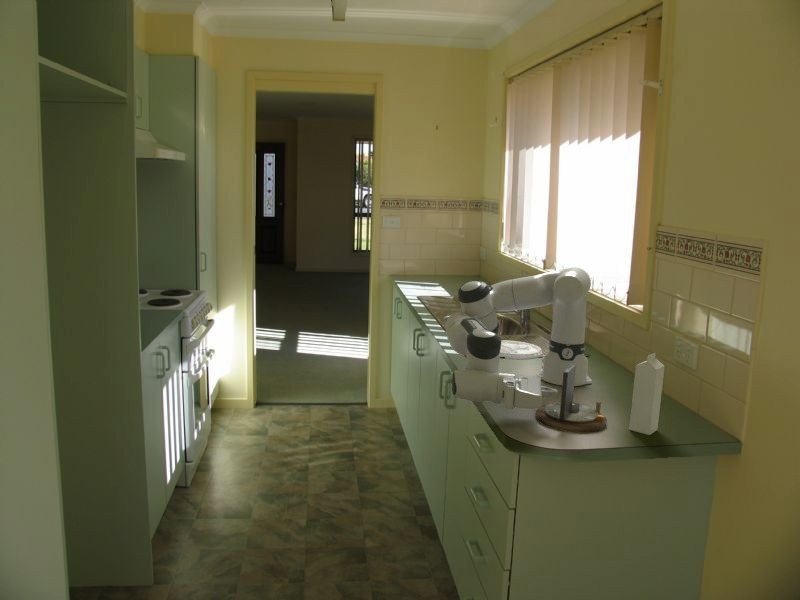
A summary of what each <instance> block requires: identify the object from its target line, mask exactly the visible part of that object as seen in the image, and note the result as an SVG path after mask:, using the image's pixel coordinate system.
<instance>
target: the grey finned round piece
mask: <svg viewBox="0 0 800 600" xmlns="http://www.w3.org/2000/svg"><path fill="white" fill-rule="evenodd" d="M575 373H576V365H571V366H570V367H569V368H567V369H566V370H565V371H564V374H563V385H561V386H562V387H561V397H560V402H559V401H557V402H550V403H548V404H546V406H545V405H544V406H545V413H546V414H547V415H548V416H549V417H551V418H554V419H557V420H559V421H564V422H570V423H590V422H594V421H596V420H598V421H603V420H604V416H605V415H604V414H603V415H604V416H603V415H598V412H597V411H596V408H593V407H591V406H588V405H585V404H581V403H579V402H577V401H574V392H575V386H574V384H575Z"/></svg>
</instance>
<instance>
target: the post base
mask: <svg viewBox="0 0 800 600" xmlns="http://www.w3.org/2000/svg"><path fill="white" fill-rule="evenodd" d="M601 404H602V402H601V401H596V405H595V410H596V411H597V412H598V415H603V416H604V420H603V421H598V420H596V421H594V422H590V423H570V422H564V421H559V420H557V419H554V418H551V417H549V416H548V415H547V414H546V413H545V406H546V405H547V404H546V405H541V407H540V408H536V410H535V419H536V420H537V421H538V422H539V423H540V422H541V423H540V424H541V425H544V426H546V427H549V428H552V429H555V430H559V431H565V432H569V433H595V432H600V431H602V430H604V429H606V427H607V418H606V416H605V415H604V414H603V413H601Z"/></svg>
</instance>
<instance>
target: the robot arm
mask: <svg viewBox="0 0 800 600" xmlns="http://www.w3.org/2000/svg"><path fill="white" fill-rule="evenodd" d="M591 282H592V281H591V278H590V275H589V274H588V272H587V271H586V270H584V269H582V268H580V267H568V268H564V269H563V268H562V269H558V270H553V271H549V272H548V271H547V272H545V273H539V274H535V275H529V276H524V277H518V278H513V279H511V278H510V279H507V280H502V281H499V282H497V283H493V284H490V283H486V282H484V281H481V280H471V281H468V282H465V283H464V284H462V285H461V286H460V287H459V289H458V291H457V296H458V301H459V303H460V304H459V305H460V309H461V311H455V312H453V313H451V314H450V315H449V316H448V317H447V319H446V322H445V334H446V337H447V341H448V342H449V345H450V347H451V349H452V350H453V351H454V352H455V353H456V354H459V355H462V356H465V357H466V358H465V359H466V361H465V367H464V368H463V369H458V370H454V371H453V372H452V376H451V391H452V395H453V396H454V397H456V398H458V399H462V400H464V401H465V400H466V401H472V402H481V403H482V402H491V403H494V404H500V405H502V406H503V407H504V409H505V408H506V409H510V410H511V409H514V408H517V409H518V408H519V409H532V410H535V409H536V410H537V409H538V408H540V407H542V402H543V399H545V400H546V399H552V398H553V399H557V398H559V390H558V389H557V388H552V387H549V386H545V385H542V381H544V382H547V383H550V384H553V385H557V386H562V385H563V374H564V371H565V370H566V369H567V368H569V367H570V366H571V365H576V373H575V384H574V387H579V386H583V385H591V384H592V383H593V382H592V381H593V380H592V379H591V378H590V377H589V375H588V367H589V365H588V364H589V359H588V358H587V357H586V356H585V354H584V353H585V349H586V343H585V334H586V333H585V332H586V325H587V299H588V293H589V292H590V289H591V287H592V286H591V285H592V283H591ZM550 305H552V322H551V323H552V324H551V325H552V326H551V337H550V339H549V343H548V352H547V353H546V354H544V356H543V357H542V359H541V364H542V365H541V369H540V370H539V371H538V373H537V374H536V376H535V375H516V373H513V372H512V373H510V372H499V368H500V367H499V366H500V357H499V355H500V349H501V340H502V339H501V337H500V336H499V333H500V324H499V320H498V316H497V312H514V311H520V310H521V311H523V310H528V309H535V308H541V307H542V308H543V307H545V306H550Z"/></svg>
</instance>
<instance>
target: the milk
mask: <svg viewBox="0 0 800 600" xmlns="http://www.w3.org/2000/svg"><path fill="white" fill-rule="evenodd" d="M665 367H666V366H665V364H663V363H662V362H660V361H659V360H658V359H657V358H656V353H655V352H654V353H652V354H649V355H648V356H647V357H646V360H645V361H642V362H640V363H638V364H636V365H635V373H634V379H633V381H634V382H633V388H632V389H633V390H632V398H631V399H632V400H631V409H630V417H629V425H628V426H629V427H628V429H629V430H630V431H633V432H637V433H640V434H644V435H648V436H651V435H652V434H653V433H655V432H656V431H658V427H659V417H660V410H661V409H660V408H661V400H662V395H663V394H662V392H663V385H664V384H663V382H664V376H665V375H664V374H665V369H666V368H665Z"/></svg>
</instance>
